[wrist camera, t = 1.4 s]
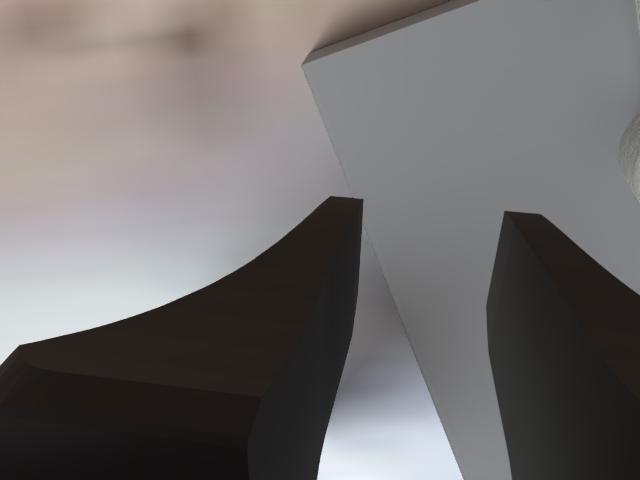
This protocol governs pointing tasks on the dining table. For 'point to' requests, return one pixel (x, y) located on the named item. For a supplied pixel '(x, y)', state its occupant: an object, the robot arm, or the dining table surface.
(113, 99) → the dining table surface
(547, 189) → the dial board
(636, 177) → the peg lever
